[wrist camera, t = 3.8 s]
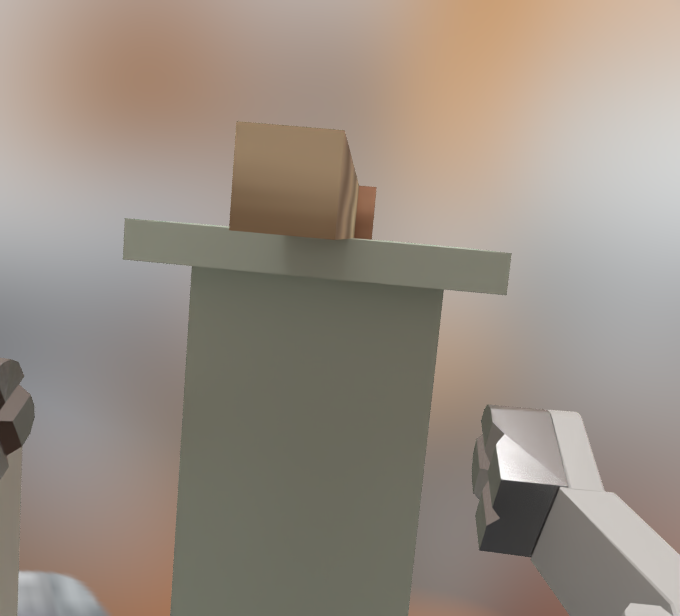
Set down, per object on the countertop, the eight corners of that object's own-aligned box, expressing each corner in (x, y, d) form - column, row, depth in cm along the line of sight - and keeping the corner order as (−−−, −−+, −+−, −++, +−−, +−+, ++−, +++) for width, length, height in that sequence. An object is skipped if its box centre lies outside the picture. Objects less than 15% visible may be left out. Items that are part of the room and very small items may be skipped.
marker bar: (370, 243, 14) (380, 133, 14) (194, 227, 14) (201, 118, 14) (371, 239, 34) (375, 194, 34) (298, 232, 34) (301, 188, 34)
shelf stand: (465, 956, 23) (556, 258, 20) (45, 899, 24) (71, 214, 21) (430, 687, 37) (481, 249, 34) (165, 655, 38) (192, 223, 35)
